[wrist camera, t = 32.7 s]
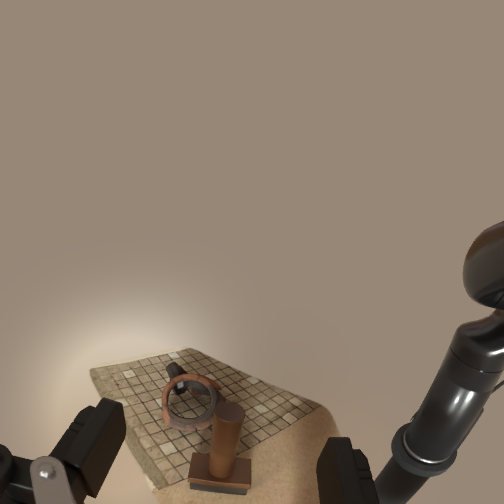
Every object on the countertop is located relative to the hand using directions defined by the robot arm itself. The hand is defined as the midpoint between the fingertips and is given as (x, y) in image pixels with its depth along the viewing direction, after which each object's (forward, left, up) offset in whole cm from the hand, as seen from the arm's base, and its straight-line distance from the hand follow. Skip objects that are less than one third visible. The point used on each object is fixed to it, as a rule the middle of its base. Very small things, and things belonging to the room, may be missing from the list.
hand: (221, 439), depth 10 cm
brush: (0, -13, -24) cm, 27 cm away
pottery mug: (+5, -25, -24) cm, 35 cm away
